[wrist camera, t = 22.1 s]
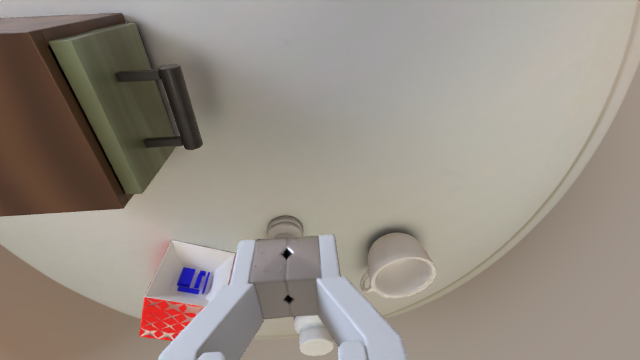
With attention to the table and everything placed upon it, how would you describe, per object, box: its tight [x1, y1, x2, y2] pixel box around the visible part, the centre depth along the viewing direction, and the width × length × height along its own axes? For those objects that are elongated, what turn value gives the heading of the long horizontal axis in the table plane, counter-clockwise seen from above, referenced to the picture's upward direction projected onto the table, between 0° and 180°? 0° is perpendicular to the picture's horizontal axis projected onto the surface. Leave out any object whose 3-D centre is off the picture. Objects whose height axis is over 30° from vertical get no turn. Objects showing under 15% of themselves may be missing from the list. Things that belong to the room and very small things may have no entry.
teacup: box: [360, 233, 436, 298], centre depth 38 cm, size 10×8×5 cm
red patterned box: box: [139, 240, 235, 341], centre depth 36 cm, size 8×8×8 cm
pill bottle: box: [294, 315, 333, 356], centre depth 38 cm, size 5×5×10 cm
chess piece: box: [267, 216, 303, 239], centre depth 32 cm, size 4×4×10 cm
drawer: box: [48, 23, 203, 194], centre depth 22 cm, size 17×10×8 cm, turn 92°
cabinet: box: [0, 13, 134, 216], centre depth 22 cm, size 14×12×10 cm
